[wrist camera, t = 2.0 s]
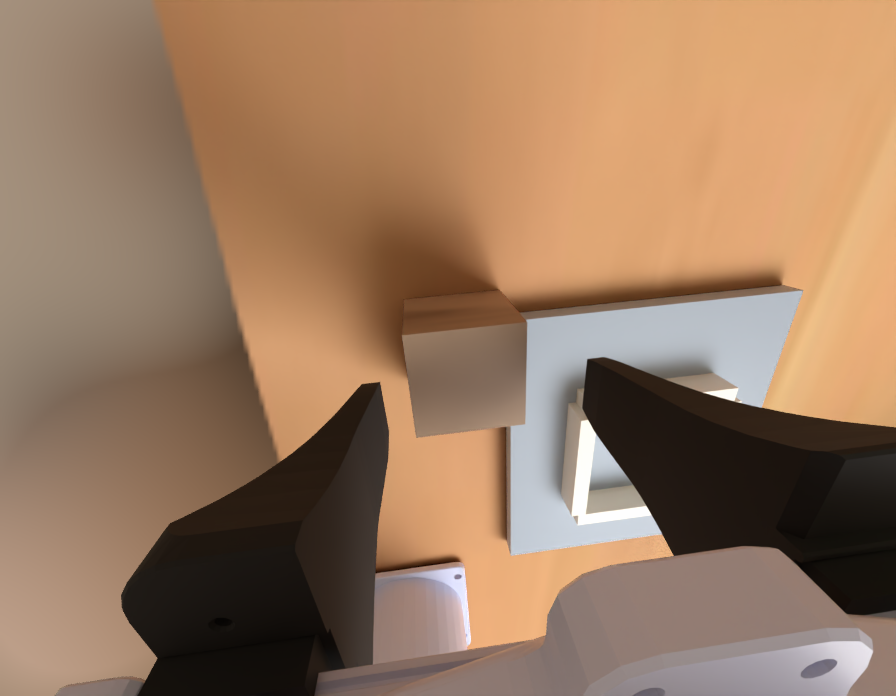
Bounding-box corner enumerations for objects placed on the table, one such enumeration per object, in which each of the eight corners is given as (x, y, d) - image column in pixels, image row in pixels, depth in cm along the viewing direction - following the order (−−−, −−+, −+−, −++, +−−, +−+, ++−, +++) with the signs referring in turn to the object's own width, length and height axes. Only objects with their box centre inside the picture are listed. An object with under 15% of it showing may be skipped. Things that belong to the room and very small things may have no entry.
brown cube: (500, 372, 18) (525, 424, 14) (414, 381, 18) (416, 437, 14) (498, 289, 16) (527, 322, 12) (404, 298, 16) (401, 335, 12)
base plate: (707, 513, 24) (738, 547, 22) (506, 541, 23) (517, 579, 21) (783, 285, 17) (838, 299, 15) (505, 314, 17) (519, 333, 14)
